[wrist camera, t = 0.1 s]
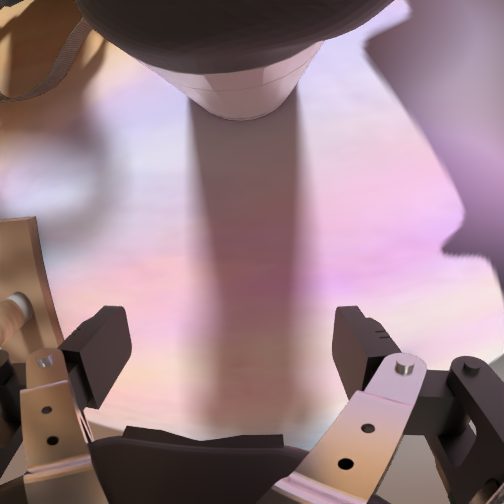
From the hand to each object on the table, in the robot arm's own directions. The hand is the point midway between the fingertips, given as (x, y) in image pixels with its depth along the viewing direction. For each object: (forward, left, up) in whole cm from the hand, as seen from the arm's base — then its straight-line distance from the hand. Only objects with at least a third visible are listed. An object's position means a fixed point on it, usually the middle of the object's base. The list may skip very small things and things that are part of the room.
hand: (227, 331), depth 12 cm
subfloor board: (+10, -31, -17) cm, 37 cm away
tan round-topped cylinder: (+9, -26, -16) cm, 32 cm away
